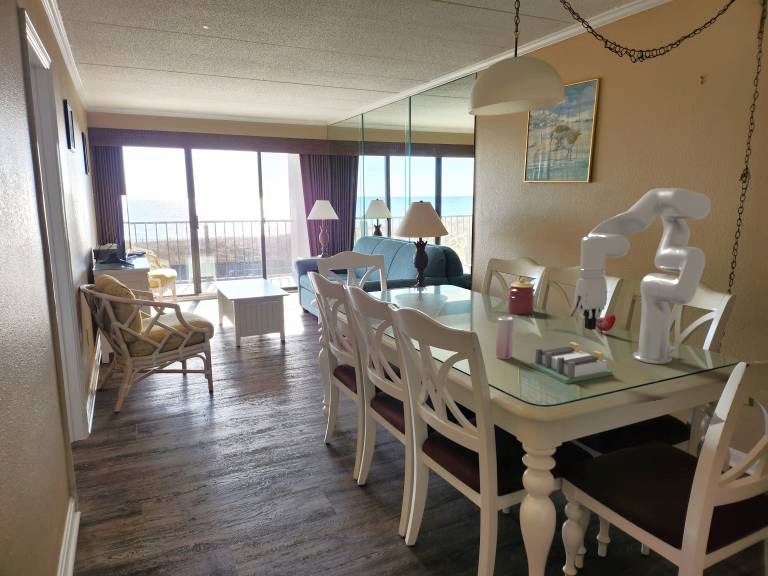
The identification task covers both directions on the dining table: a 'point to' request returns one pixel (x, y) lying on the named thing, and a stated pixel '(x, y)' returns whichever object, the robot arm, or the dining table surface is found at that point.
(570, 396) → the dining table surface
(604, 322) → the decorative bird figurine
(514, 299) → the canister
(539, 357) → the board
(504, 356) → the beverage can
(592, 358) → the near strap
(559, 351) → the strap
